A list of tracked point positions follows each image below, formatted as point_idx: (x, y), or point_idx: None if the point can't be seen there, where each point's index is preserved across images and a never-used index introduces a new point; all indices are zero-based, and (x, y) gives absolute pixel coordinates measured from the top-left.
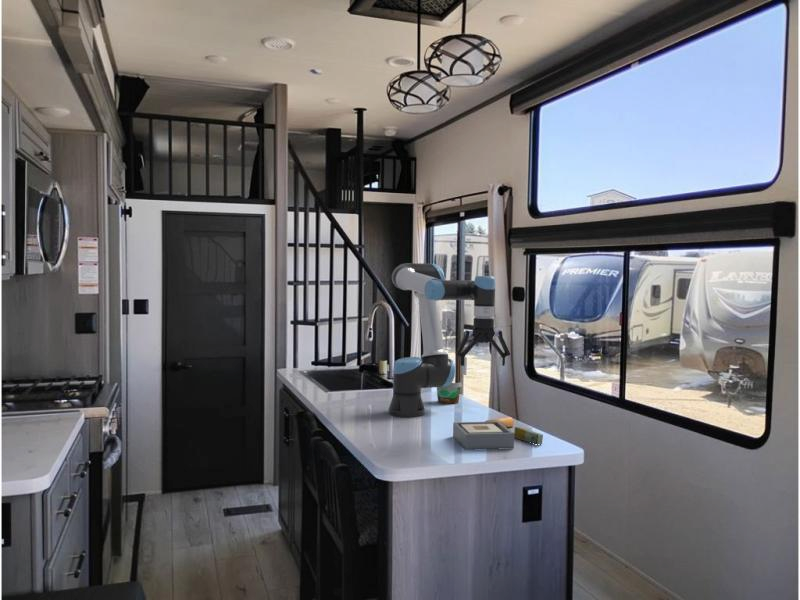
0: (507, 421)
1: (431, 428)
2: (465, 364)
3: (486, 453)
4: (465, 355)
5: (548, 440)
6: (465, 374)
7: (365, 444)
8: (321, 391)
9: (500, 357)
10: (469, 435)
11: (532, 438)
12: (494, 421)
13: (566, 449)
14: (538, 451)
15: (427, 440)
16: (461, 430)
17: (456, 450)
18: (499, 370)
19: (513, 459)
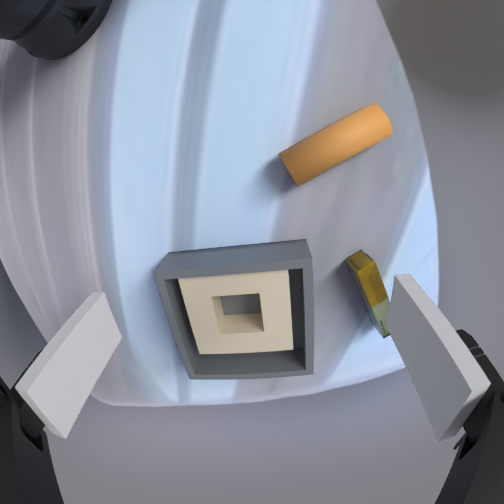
0: (368, 146)
1: (112, 152)
2: (82, 392)
3: None
4: (48, 447)
5: (420, 278)
6: (115, 340)
7: (27, 296)
8: None
9: (441, 437)
10: (199, 377)
11: (373, 320)
12: (316, 169)
13: None
14: (356, 356)
15: (111, 277)
16: (179, 351)
17: None
18: (400, 331)
19: (285, 395)
